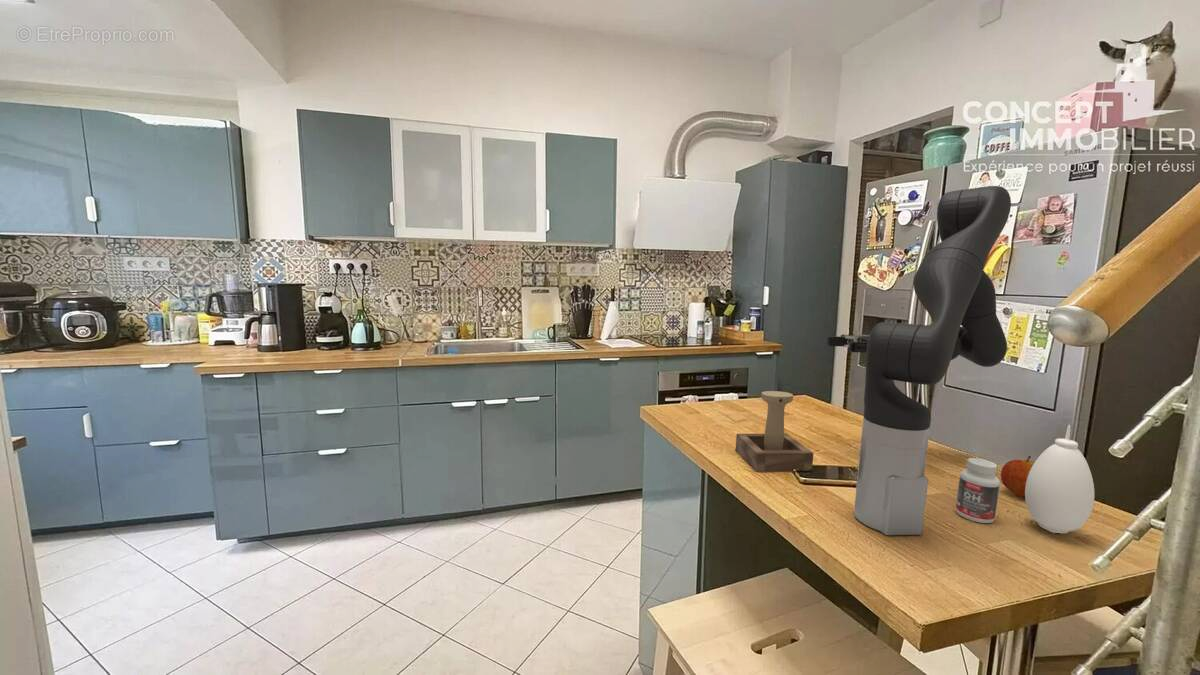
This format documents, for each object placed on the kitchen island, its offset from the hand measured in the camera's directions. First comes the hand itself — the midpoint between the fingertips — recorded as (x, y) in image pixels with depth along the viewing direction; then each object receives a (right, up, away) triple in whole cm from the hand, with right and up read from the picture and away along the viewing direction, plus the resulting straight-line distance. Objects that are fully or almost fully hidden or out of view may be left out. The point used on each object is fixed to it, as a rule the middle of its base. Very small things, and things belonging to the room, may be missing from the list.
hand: (838, 343), depth 104 cm
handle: (-14, -26, +1) cm, 30 cm away
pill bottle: (+12, -30, -22) cm, 39 cm away
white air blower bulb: (+22, -30, -27) cm, 46 cm away
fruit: (+28, -29, -14) cm, 43 cm away
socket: (-14, -26, +1) cm, 29 cm away
